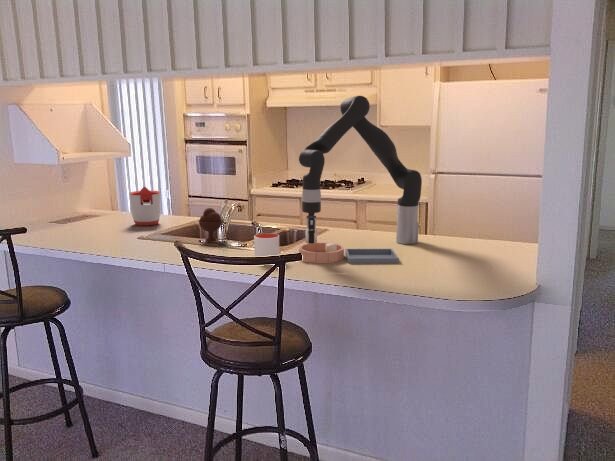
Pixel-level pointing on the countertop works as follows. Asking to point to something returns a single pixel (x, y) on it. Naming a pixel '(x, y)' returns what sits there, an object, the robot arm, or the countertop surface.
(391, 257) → the parts tray
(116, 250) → the countertop surface
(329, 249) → the sandstone pebble
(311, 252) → the terracotta bowl
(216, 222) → the ice cream bowl
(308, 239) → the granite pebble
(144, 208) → the citrus juicer
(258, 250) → the cup
